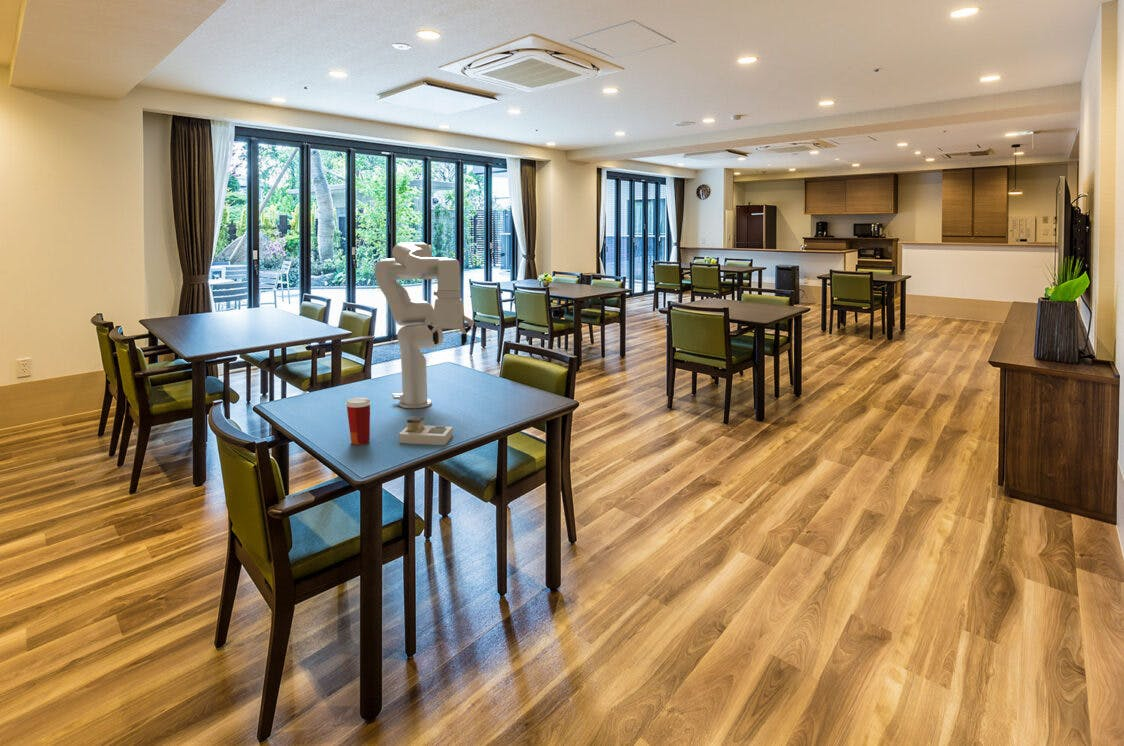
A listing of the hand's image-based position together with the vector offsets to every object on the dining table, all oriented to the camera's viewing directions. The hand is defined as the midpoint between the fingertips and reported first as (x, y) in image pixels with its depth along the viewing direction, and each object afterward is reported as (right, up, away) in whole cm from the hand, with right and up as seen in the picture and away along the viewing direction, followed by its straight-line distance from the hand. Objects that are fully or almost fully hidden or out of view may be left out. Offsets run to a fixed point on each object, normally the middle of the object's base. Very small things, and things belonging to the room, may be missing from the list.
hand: (449, 344), depth 215 cm
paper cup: (-26, -33, -17) cm, 45 cm away
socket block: (-5, -32, -13) cm, 35 cm away
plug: (-9, -32, -13) cm, 35 cm away
